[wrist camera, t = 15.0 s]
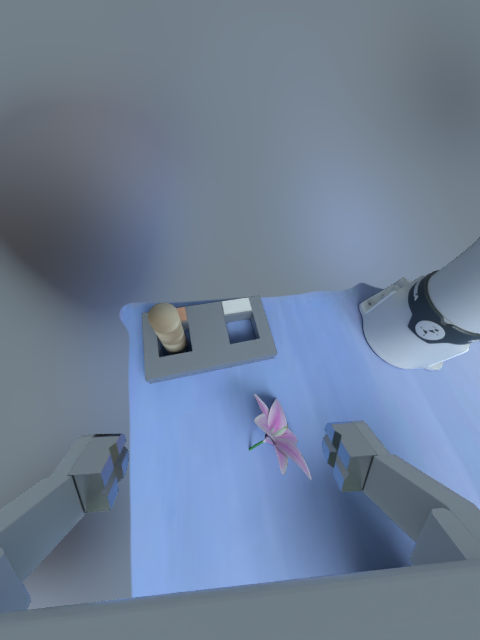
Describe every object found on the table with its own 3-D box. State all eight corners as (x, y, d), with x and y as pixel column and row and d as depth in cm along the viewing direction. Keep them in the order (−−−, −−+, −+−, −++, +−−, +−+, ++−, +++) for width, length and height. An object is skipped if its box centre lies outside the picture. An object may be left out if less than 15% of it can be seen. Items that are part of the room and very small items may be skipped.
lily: (297, 487, 35) (342, 471, 29) (227, 497, 30) (265, 480, 24) (276, 410, 43) (308, 385, 37) (218, 407, 38) (245, 378, 32)
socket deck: (257, 303, 47) (259, 294, 44) (273, 358, 42) (278, 352, 39) (146, 320, 43) (141, 312, 40) (150, 383, 38) (144, 379, 35)
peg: (179, 331, 43) (167, 297, 32) (192, 346, 42) (184, 317, 31) (160, 343, 41) (141, 313, 30) (173, 360, 40) (158, 334, 29)
